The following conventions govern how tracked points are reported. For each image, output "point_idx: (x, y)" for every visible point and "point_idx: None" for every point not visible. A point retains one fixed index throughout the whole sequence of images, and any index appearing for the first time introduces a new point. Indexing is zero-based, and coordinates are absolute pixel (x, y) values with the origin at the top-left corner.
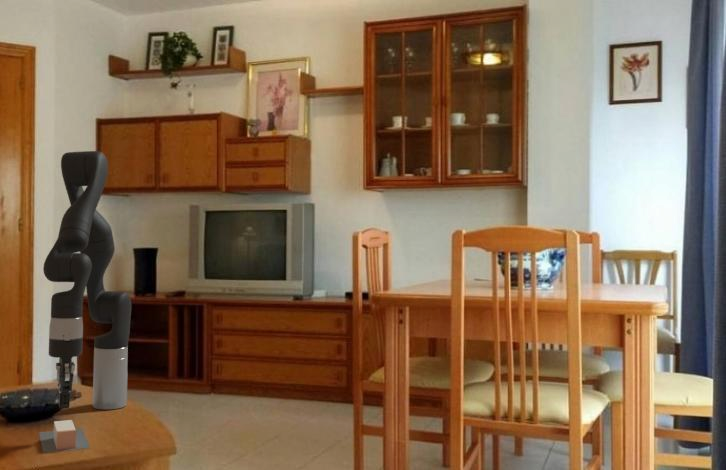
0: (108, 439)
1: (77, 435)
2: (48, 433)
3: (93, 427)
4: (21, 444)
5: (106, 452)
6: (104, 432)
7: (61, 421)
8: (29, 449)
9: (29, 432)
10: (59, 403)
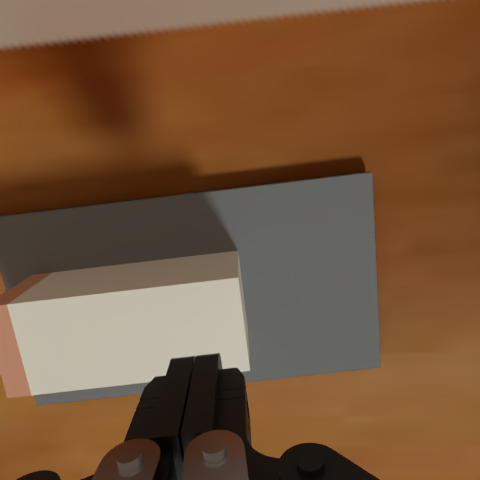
0: None
1: (254, 351)
2: (332, 222)
3: (419, 405)
4: (218, 100)
5: (17, 451)
6: None
7: (226, 318)
8: (121, 146)
9: (437, 121)
10: (175, 373)
